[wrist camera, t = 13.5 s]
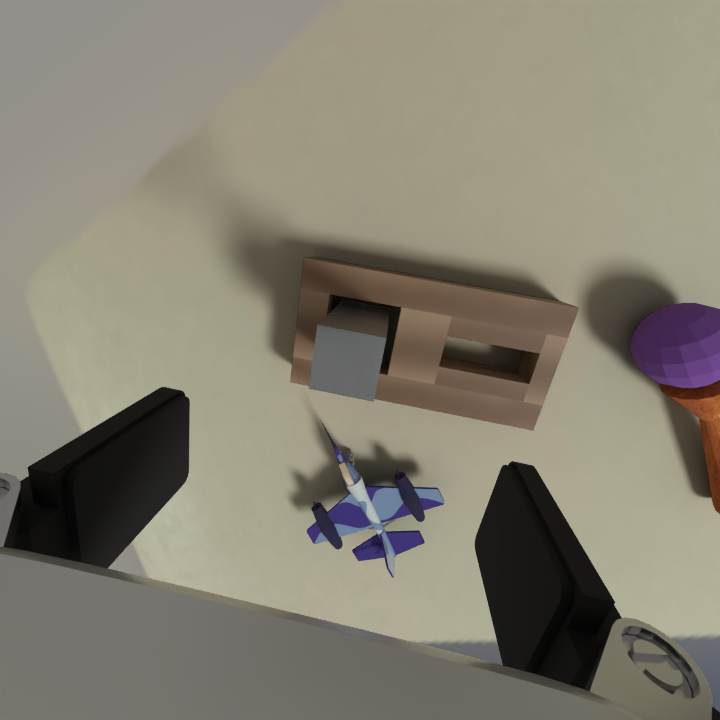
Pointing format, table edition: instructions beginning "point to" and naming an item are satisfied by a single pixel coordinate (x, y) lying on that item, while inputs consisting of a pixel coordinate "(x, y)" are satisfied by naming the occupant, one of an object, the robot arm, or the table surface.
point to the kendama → (686, 369)
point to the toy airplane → (373, 513)
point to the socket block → (443, 340)
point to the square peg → (350, 350)
